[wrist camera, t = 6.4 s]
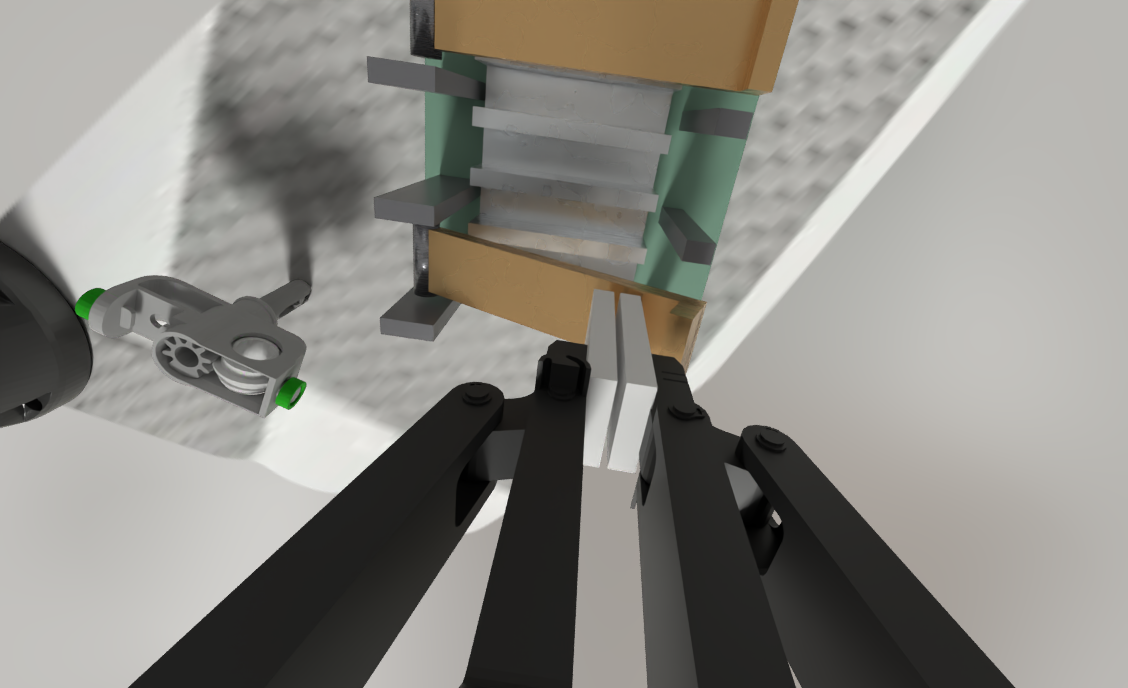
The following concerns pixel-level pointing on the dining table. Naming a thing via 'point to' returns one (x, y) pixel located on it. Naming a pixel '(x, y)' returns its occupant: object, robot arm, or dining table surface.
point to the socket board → (683, 181)
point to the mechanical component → (209, 337)
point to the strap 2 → (543, 290)
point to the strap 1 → (617, 37)
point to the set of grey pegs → (451, 194)
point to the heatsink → (569, 163)
